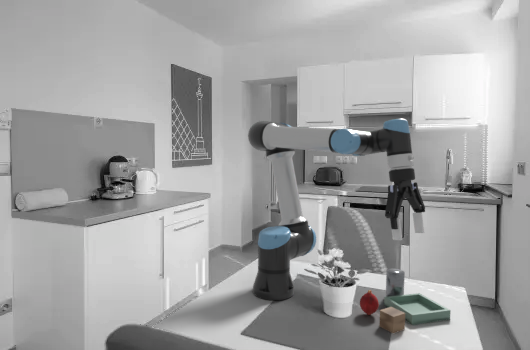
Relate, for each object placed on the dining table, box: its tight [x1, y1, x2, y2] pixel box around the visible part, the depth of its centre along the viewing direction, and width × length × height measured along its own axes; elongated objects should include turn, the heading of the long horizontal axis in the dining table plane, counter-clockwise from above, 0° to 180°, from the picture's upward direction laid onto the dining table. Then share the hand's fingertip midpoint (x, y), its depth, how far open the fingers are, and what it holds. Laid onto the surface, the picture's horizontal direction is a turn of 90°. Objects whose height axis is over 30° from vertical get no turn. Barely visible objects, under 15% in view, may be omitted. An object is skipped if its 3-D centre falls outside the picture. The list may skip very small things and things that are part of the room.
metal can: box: [385, 268, 406, 297], centre depth 125 cm, size 6×6×10 cm
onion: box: [359, 289, 380, 316], centre depth 112 cm, size 6×6×8 cm
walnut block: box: [378, 307, 406, 334], centre depth 104 cm, size 5×5×5 cm
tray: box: [383, 292, 451, 326], centre depth 114 cm, size 14×14×3 cm
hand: (409, 236), depth 110 cm, fingers open, 13 cm apart
